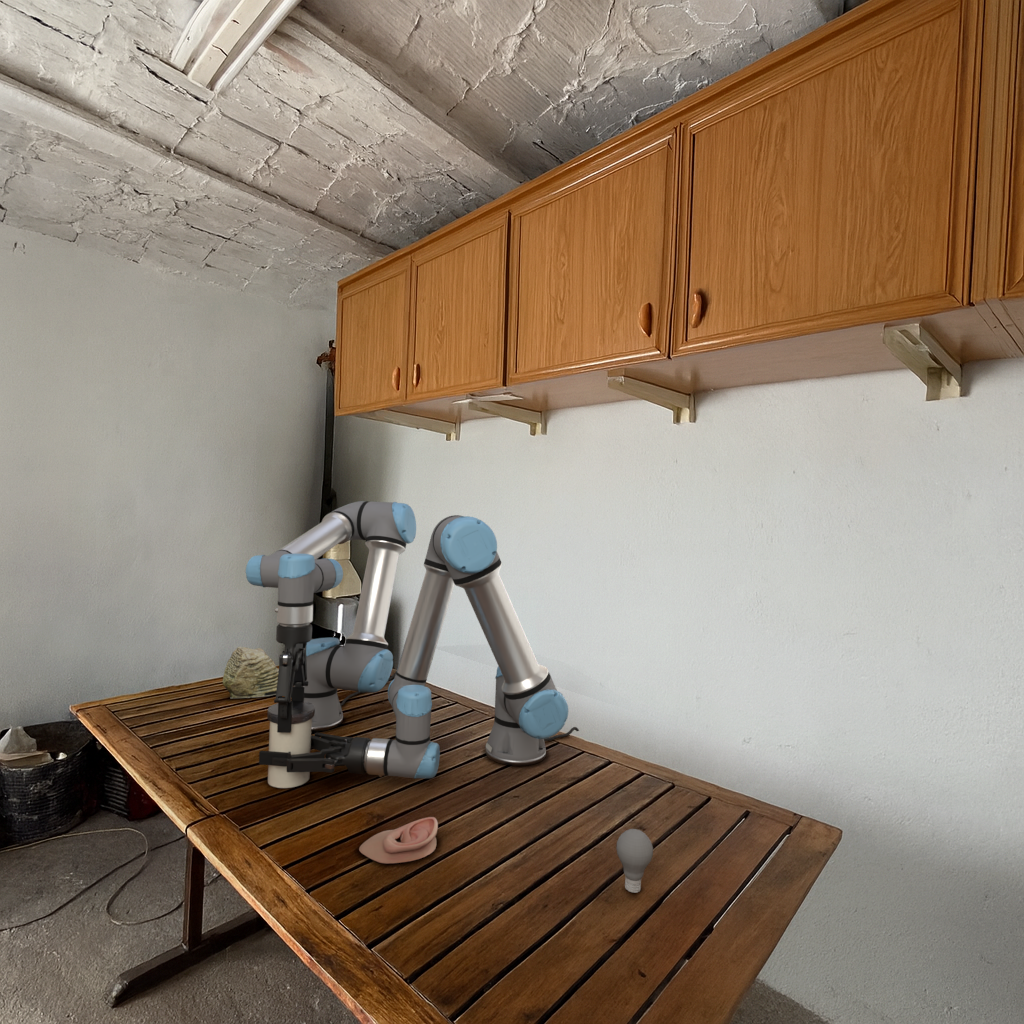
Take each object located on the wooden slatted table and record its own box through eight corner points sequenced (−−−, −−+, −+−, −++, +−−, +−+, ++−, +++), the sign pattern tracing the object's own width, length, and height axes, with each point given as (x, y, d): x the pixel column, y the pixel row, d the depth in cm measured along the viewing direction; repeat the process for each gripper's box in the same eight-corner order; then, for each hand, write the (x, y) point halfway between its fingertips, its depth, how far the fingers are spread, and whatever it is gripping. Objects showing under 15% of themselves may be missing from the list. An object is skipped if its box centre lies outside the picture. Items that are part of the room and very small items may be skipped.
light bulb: (610, 879, 108) (613, 822, 108) (644, 879, 109) (647, 822, 109) (619, 902, 102) (622, 840, 102) (655, 901, 103) (658, 840, 103)
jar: (318, 775, 144) (320, 707, 143) (290, 791, 136) (293, 719, 135) (287, 767, 147) (289, 701, 147) (258, 782, 139) (261, 712, 139)
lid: (322, 711, 145) (322, 702, 145) (301, 726, 135) (302, 717, 135) (281, 707, 147) (281, 699, 147) (258, 721, 137) (258, 713, 137)
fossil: (218, 695, 195) (220, 647, 195) (278, 685, 208) (279, 640, 207) (228, 703, 189) (230, 653, 188) (289, 692, 201) (290, 645, 201)
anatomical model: (352, 836, 111) (378, 805, 123) (351, 858, 111) (377, 826, 123) (423, 847, 109) (444, 815, 120) (422, 870, 109) (443, 836, 120)
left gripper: (291, 613, 152) (287, 706, 152) (261, 633, 129) (257, 742, 130) (322, 614, 152) (319, 707, 153) (298, 634, 130) (294, 742, 130)
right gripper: (352, 795, 129) (245, 787, 131) (381, 753, 151) (289, 746, 152) (353, 759, 129) (246, 751, 131) (382, 722, 151) (290, 715, 152)
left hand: (290, 723), depth 141 cm, fingers closed on lid, 10 cm apart
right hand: (270, 748), depth 142 cm, fingers closed on jar, 9 cm apart
